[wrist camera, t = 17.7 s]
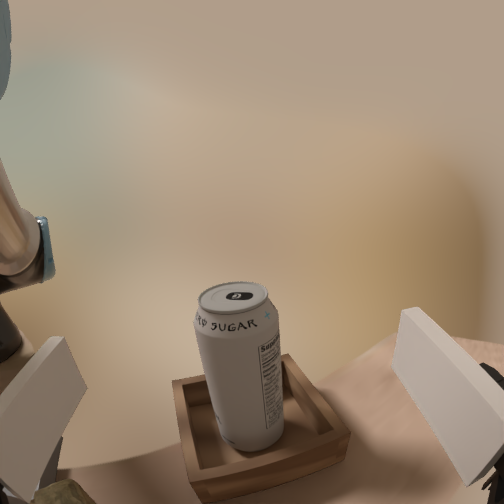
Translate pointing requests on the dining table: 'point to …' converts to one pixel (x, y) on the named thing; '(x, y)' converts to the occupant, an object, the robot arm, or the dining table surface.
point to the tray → (46, 478)
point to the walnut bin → (265, 461)
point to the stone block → (62, 494)
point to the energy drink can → (242, 363)
